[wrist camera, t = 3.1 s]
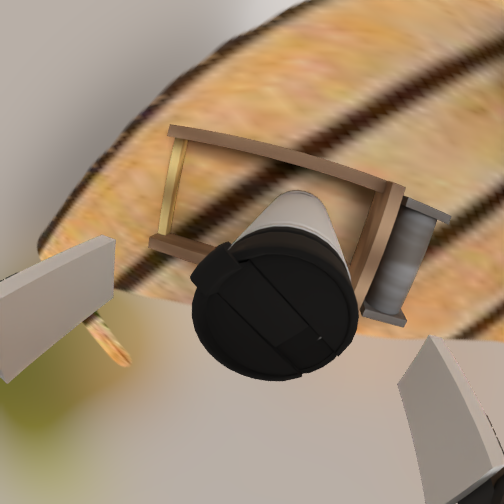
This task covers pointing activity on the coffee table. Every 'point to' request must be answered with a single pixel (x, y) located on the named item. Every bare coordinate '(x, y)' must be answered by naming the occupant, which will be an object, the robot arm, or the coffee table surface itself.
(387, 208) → the bay
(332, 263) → the travel mug
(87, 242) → the robot arm
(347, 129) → the coffee table surface
